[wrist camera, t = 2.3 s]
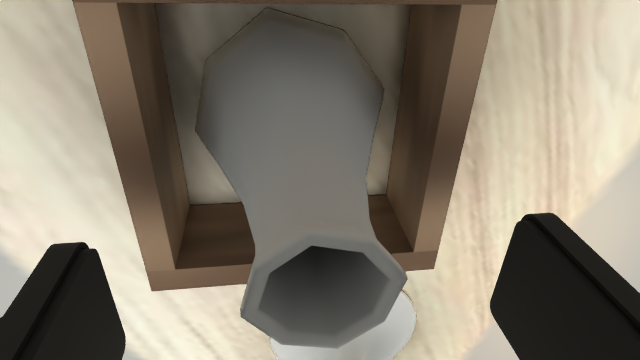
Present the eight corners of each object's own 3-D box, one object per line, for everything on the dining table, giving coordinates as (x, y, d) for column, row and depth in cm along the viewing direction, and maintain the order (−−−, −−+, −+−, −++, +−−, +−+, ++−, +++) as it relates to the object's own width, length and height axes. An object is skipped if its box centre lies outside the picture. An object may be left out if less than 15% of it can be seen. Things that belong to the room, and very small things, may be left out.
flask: (413, 80, 17) (575, 242, 8) (312, 207, 19) (356, 426, 11) (257, -34, 14) (258, 37, 5) (164, 134, 16) (69, 357, 8)
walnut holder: (111, -54, 13) (60, -44, 9) (446, -47, 14) (505, -37, 11) (170, 224, 19) (151, 291, 15) (403, 210, 20) (433, 268, 17)
